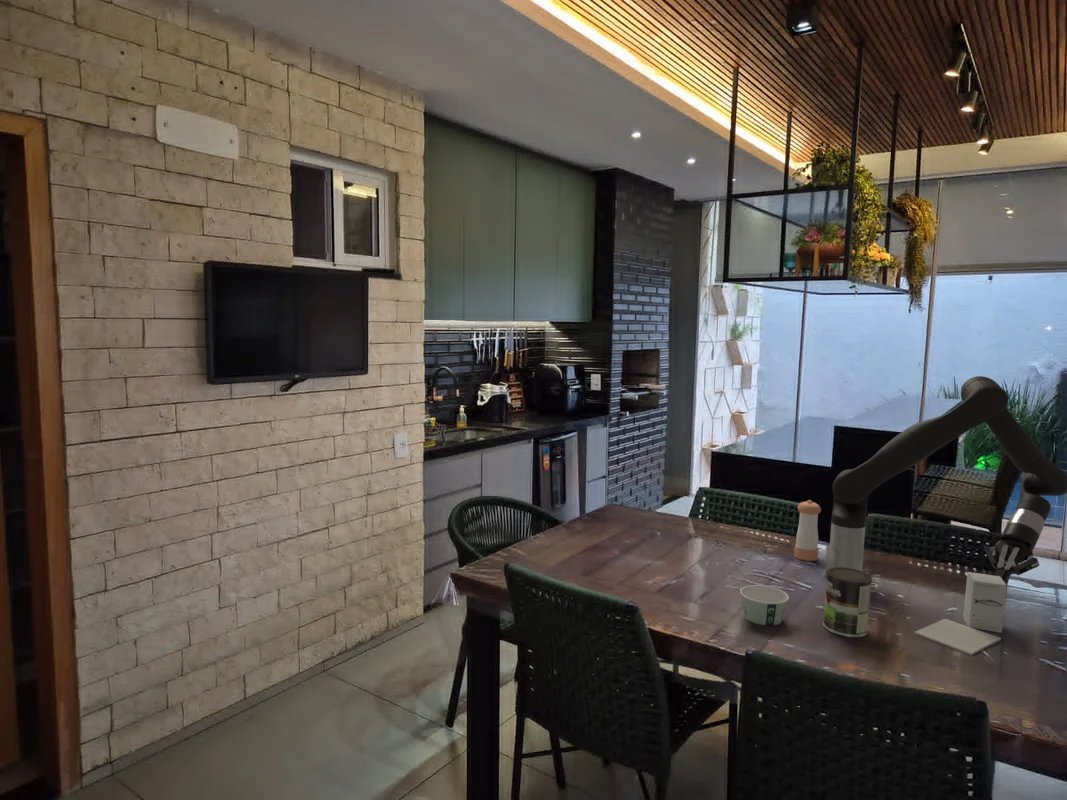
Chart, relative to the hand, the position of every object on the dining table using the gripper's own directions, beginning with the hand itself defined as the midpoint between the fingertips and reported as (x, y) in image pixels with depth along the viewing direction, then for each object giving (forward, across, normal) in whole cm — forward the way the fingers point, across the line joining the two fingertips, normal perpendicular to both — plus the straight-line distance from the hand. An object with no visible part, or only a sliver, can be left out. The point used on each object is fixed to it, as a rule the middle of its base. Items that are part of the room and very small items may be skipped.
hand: (998, 583), depth 178 cm
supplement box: (+12, 0, -3) cm, 12 cm away
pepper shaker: (+6, +56, -7) cm, 57 cm away
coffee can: (+34, +18, +20) cm, 44 cm away
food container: (+43, +33, +29) cm, 62 cm away
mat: (+21, 0, +6) cm, 22 cm away
